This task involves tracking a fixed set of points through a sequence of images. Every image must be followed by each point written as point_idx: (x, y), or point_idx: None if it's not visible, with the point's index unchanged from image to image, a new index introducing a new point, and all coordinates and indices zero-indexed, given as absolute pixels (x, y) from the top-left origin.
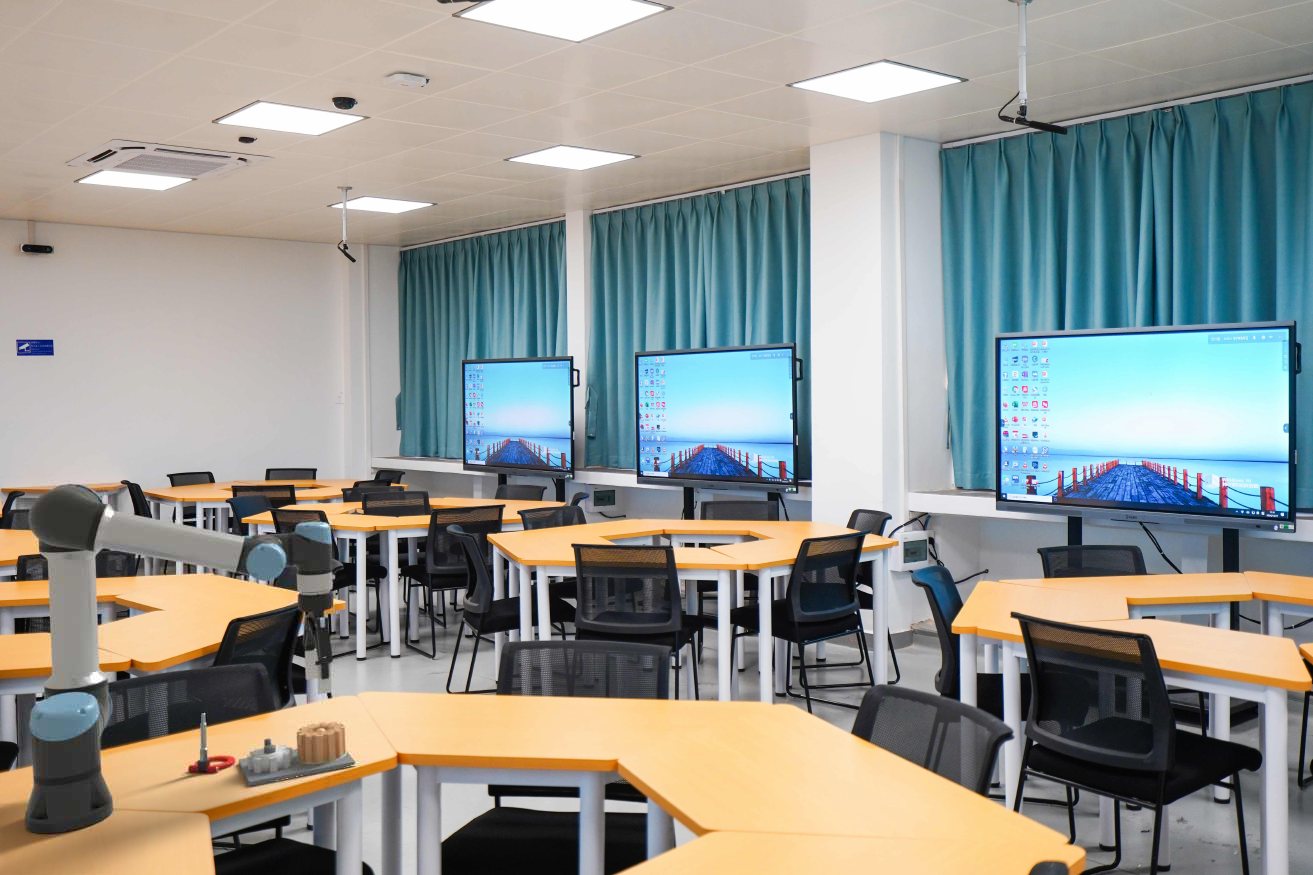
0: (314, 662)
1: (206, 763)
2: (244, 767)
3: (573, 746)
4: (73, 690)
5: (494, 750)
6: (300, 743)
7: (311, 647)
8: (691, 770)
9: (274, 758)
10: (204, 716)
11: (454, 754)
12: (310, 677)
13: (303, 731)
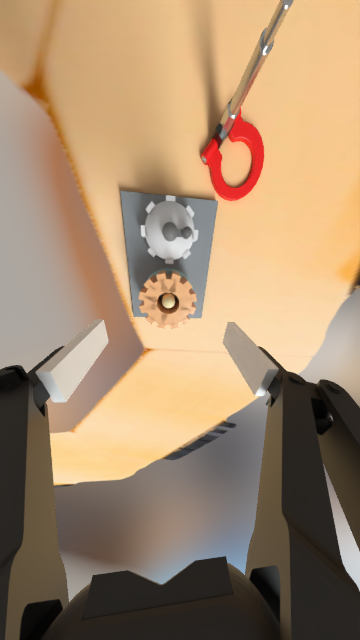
0: (239, 360)
1: (215, 132)
2: (181, 200)
3: (105, 423)
4: None
5: (119, 395)
6: (158, 273)
7: (276, 392)
8: None
9: (141, 232)
10: (276, 15)
11: (124, 377)
12: (227, 331)
13: (171, 282)
